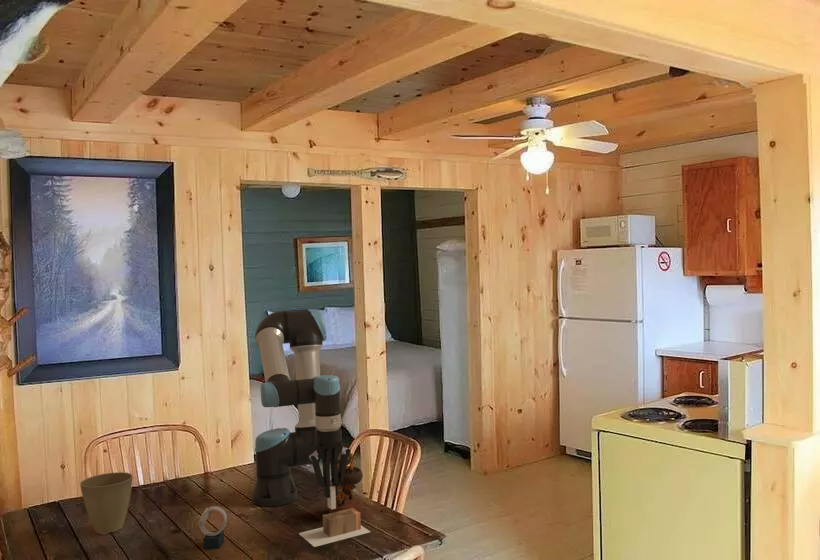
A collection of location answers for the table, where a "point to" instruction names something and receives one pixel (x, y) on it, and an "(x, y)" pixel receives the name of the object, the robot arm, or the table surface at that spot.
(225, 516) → the watch
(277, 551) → the table surface
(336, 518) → the walnut block
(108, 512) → the plant pot
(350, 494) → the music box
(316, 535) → the mat
